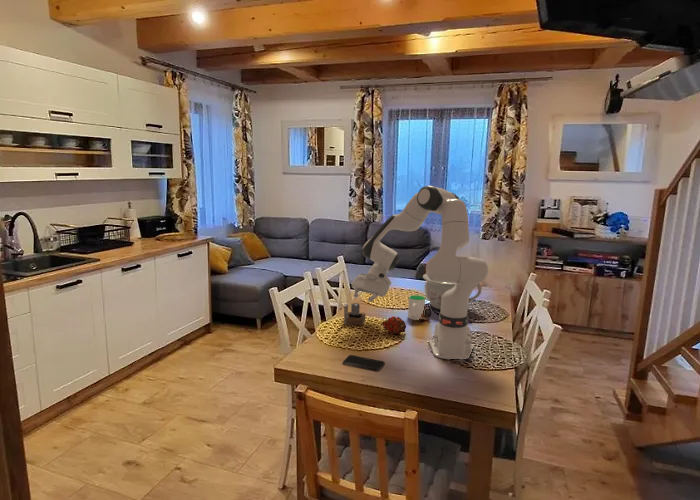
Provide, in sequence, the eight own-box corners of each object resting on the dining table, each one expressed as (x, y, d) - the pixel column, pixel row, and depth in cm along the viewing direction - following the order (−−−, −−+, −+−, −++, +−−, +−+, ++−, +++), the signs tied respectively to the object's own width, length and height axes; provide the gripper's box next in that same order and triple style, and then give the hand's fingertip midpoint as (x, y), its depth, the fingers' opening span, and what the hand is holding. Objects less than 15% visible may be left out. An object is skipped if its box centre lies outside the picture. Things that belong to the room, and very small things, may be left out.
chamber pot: (411, 302, 253) (413, 266, 249) (451, 297, 265) (453, 263, 261) (441, 318, 229) (443, 279, 225) (483, 312, 240) (487, 274, 236)
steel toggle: (358, 324, 218) (358, 306, 216) (350, 323, 219) (350, 305, 217) (359, 321, 222) (360, 303, 220) (351, 320, 223) (352, 302, 221)
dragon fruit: (407, 339, 204) (382, 338, 210) (411, 324, 210) (387, 323, 215) (401, 328, 199) (376, 327, 205) (406, 313, 204) (381, 312, 210)
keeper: (361, 327, 214) (361, 307, 212) (343, 325, 216) (343, 305, 214) (365, 320, 224) (365, 300, 222) (348, 318, 226) (348, 299, 224)
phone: (378, 369, 169) (342, 362, 175) (378, 372, 169) (341, 364, 175) (385, 361, 176) (349, 354, 182) (385, 364, 176) (349, 357, 182)
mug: (421, 323, 221) (422, 303, 219) (405, 321, 224) (406, 301, 222) (425, 315, 232) (426, 296, 230) (409, 313, 235) (410, 294, 233)
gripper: (357, 269, 232) (343, 291, 226) (388, 276, 218) (375, 300, 213) (362, 276, 236) (349, 298, 231) (394, 283, 222) (380, 307, 217)
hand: (362, 299), depth 222 cm, fingers open, 8 cm apart
